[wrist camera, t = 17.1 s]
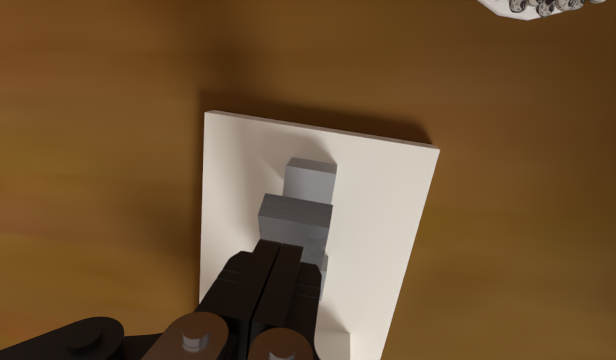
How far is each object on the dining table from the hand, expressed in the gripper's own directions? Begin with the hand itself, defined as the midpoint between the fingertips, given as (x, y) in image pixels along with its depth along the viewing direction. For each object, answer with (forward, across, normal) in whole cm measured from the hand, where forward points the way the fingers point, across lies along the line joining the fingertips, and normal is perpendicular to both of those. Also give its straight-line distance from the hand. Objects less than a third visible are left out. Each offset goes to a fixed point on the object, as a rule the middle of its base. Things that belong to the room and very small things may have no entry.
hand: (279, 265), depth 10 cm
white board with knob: (+12, 0, +11) cm, 16 cm away
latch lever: (+6, 0, +3) cm, 7 cm away
